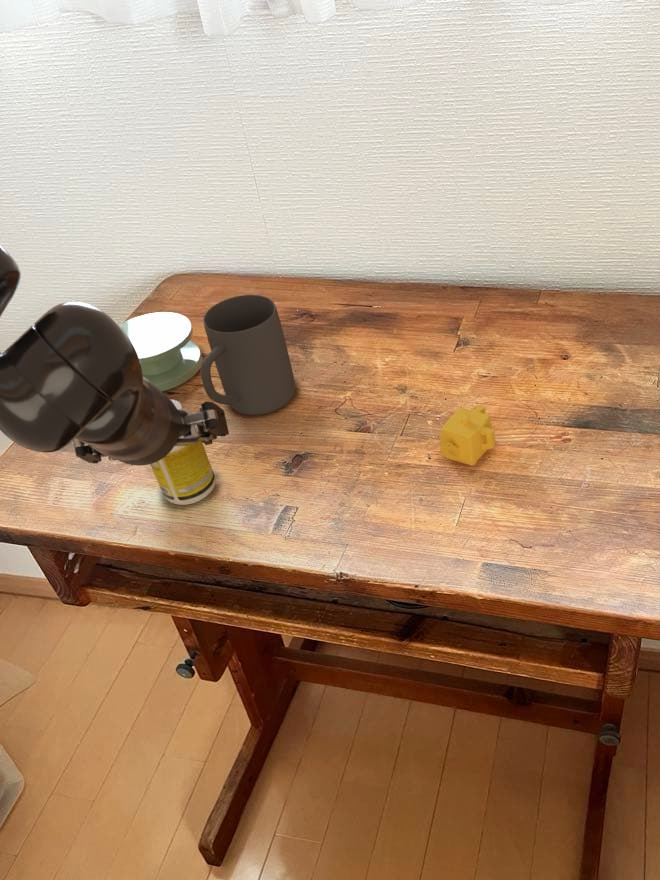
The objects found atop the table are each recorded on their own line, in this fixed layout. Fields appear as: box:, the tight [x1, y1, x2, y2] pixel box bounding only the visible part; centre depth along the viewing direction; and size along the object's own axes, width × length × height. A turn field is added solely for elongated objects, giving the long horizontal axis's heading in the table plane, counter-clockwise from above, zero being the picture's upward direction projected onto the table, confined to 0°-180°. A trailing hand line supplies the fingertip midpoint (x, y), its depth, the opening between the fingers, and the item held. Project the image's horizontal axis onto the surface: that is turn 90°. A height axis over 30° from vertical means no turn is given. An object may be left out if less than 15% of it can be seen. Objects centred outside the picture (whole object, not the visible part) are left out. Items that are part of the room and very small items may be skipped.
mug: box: [199, 294, 296, 416], centre depth 103 cm, size 14×9×12 cm
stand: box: [119, 311, 204, 392], centre depth 114 cm, size 12×12×5 cm
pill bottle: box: [149, 398, 216, 506], centre depth 93 cm, size 6×6×11 cm
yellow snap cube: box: [439, 405, 497, 467], centre depth 93 cm, size 8×6×5 cm
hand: (168, 443), depth 89 cm, fingers open, 8 cm apart
